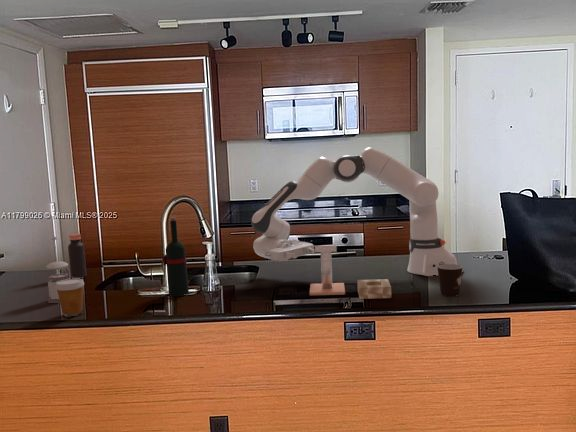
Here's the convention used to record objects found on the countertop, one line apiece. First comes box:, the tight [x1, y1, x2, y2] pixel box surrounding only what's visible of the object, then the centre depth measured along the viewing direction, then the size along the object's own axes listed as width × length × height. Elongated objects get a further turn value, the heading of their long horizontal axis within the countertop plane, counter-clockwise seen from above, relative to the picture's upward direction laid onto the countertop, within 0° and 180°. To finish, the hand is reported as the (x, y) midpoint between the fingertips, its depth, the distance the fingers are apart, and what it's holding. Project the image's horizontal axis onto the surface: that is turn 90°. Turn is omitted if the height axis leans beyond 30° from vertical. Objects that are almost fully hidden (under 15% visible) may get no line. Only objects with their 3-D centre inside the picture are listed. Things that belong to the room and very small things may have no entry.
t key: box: [314, 244, 338, 289], centre depth 204 cm, size 8×4×16 cm, turn 86°
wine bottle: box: [161, 216, 190, 297], centre depth 208 cm, size 8×10×30 cm
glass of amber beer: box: [55, 278, 85, 314], centre depth 188 cm, size 10×10×12 cm
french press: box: [45, 236, 71, 299], centre depth 208 cm, size 10×12×25 cm
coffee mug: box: [437, 263, 464, 297], centre depth 192 cm, size 12×9×10 cm
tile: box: [309, 282, 346, 296], centre depth 205 cm, size 13×13×1 cm
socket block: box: [357, 278, 392, 300], centre depth 196 cm, size 11×11×4 cm
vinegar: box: [67, 233, 88, 277], centre depth 245 cm, size 7×7×20 cm
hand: (304, 253), depth 212 cm, fingers open, 8 cm apart
